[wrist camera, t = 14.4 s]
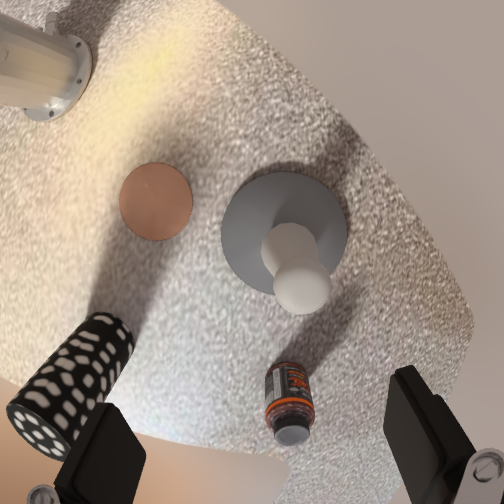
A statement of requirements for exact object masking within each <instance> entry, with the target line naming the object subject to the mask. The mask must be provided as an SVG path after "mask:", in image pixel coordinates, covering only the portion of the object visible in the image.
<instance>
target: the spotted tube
mask: <svg viewBox="0 0 504 504" xmlns="http://www.w3.org/2000/svg"><path fill="white" fill-rule="evenodd" d="M133 351H134V340H133V336H132V334H131V332H130V330H129V329H128V327H127V326H126V325H125V324H124V323H123V322H122V321H121V320H120V319H118V318H117V317H115V316H113V315H111V314H109V313H105V312H96V313H93V314H91V315H90V316H88V317H87V318H86V319H85V320H84V321H83V322H82V323H81V325H80V326H79V327H78V328H77V329H76V330H75V331H74V332H73V333H72V334H71V335H70V336H69V337H68V338H67V339H66V340H65V341H64V342H63V343H62V344H61V345H60V346H59V348H58V349H57V350H56V351H55V352H54V353H53V354H52V355H51V356H50V357H49V358H48V359H47V360H46V362H45V363H44V364H43V365H42V366H41V367H40V368H39V369H38V370H37V372H36V373H35V374H34V375H33V376H32V377H31V378H30V379H29V381H28V382H27V383H26V384H25V385H24V386H23V387H22V389H21V390H20V391H19V392H18V393H17V395H16V396H15V397H14V398H13V399H12V401H10V403H9V404H8V405H7V407H6V413H7V416H8V418H9V420H10V422H11V424H12V425H13V427H14V428H15V429H16V431H17V432H18V433H19V434H20V435H21V436H22V438H24V440H26V441H27V442H28V443H29V444H30V445H32V446H33V447H34V448H35V449H36V450H38V451H40V452H41V453H43V454H44V455H46V456H48V457H50V458H52V459H55V460H58V461H61V462H64V461H65V459H66V457H67V455H68V454H69V452H70V450H71V448H72V446H73V444H74V442H75V440H76V438H77V436H78V435H79V433H80V431H81V429H82V427H83V425H84V423H85V422H86V420H87V418H88V416H89V414H90V413H91V411H92V409H93V407H94V405H95V404H96V403H97V402H104V401H105V400H106V398H107V396H108V394H109V393H110V391H111V389H112V388H113V386H114V384H115V382H116V381H117V379H118V377H119V376H120V374H121V372H122V370H123V369H124V367H125V365H126V364H127V362H128V360H129V359H130V357H131V355H132V353H133Z"/></svg>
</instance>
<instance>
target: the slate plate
mask: <svg viewBox="0 0 504 504" xmlns="http://www.w3.org/2000/svg"><path fill="white" fill-rule="evenodd" d="M282 223H296V224H298V225H301V226H304V227H306V228H307V229H308V230H309V231H310V232H311V233H312V235H313V236H314V237H315V241H316V244H317V248H318V258H319V261H320V262H321V263H322V264H323V266H324V267H325V268H326V269H327V270H328V272H329V275H331V274H332V273H333V271H334V270H335V269H336V267H337V266H338V264H339V262H340V260H341V258H342V256H343V253H344V250H345V246H346V241H347V225H346V219H345V216H344V212H343V210H342V208H341V205H340V204H339V202H338V200H337V199H336V197H335V196H334V195H333V194H332V192H331V191H330V190H329V189H328V188H327V187H325V186H324V185H323V184H321V183H320V182H319V181H317V180H315V179H313V178H311V177H309V176H306V175H303V174H299V173H294V172H275V173H270V174H266V175H263V176H260V177H258V178H256V179H254V180H252V181H251V182H249V183H248V184H246V185H245V186H244V187H243V188H242V189H241V190H239V192H238V193H237V194H236V195H235V196H234V198H233V199H232V201H231V202H230V204H229V205H228V207H227V210H226V212H225V214H224V218H223V221H222V227H221V242H222V248H223V252H224V255H225V258H226V260H227V262H228V264H229V266H230V267H231V269H232V270H233V271H234V273H235V274H236V275H237V276H238V277H239V278H240V279H241V280H242V281H243V282H245V283H246V284H247V285H249V286H250V287H252V288H254V289H256V290H258V291H260V292H263V293H267V294H271V295H275V293H274V289H273V284H274V277H273V275H272V274H271V273H270V271H269V270H268V269H267V268H266V266H265V265H264V262H263V259H262V255H261V248H262V241H263V239H264V238H265V237H266V235H267V234H268V232H269V231H270V230H271V229H273V228H274V227H276V226H278V225H279V224H282Z"/></svg>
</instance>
